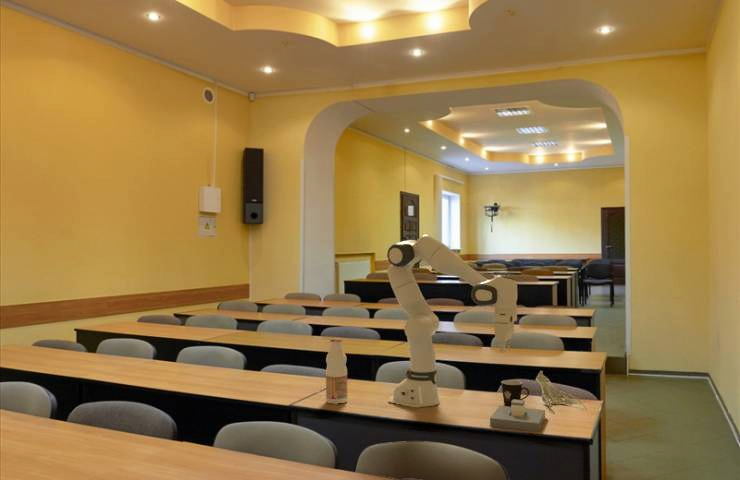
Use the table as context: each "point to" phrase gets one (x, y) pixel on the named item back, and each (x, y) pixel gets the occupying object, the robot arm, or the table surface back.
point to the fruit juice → (336, 373)
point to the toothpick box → (518, 408)
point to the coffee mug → (512, 391)
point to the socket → (518, 419)
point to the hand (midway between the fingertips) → (504, 350)
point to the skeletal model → (549, 389)
